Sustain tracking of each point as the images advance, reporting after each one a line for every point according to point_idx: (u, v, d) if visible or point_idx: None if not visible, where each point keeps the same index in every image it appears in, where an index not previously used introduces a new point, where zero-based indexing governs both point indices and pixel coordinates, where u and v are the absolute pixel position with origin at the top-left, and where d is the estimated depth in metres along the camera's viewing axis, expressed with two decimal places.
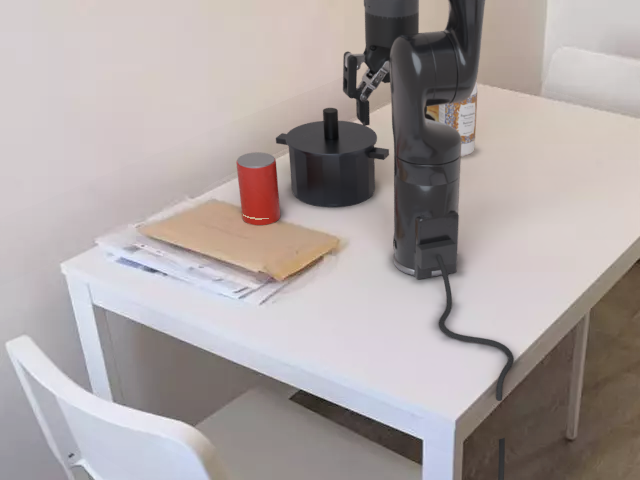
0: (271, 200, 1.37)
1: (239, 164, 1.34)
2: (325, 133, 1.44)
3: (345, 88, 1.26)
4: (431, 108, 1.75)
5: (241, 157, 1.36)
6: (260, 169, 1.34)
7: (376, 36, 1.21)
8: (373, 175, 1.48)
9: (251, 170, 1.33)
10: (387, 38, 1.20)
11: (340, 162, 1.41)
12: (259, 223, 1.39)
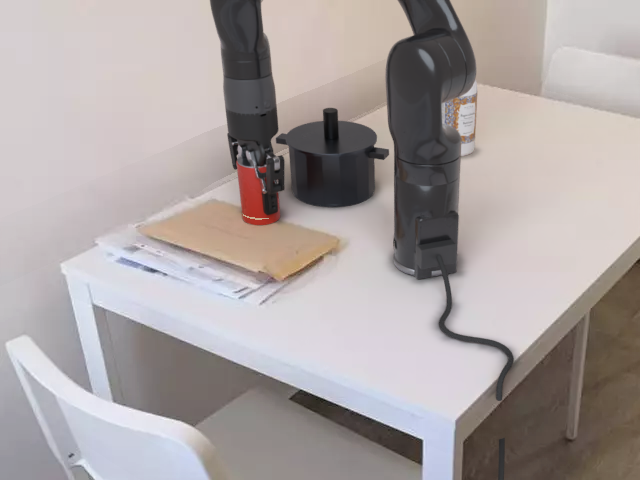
0: None
1: (239, 164, 1.34)
2: (325, 133, 1.44)
3: None
4: None
5: None
6: (260, 169, 1.34)
7: None
8: (373, 175, 1.48)
9: (251, 170, 1.33)
10: None
11: (340, 162, 1.41)
12: (259, 223, 1.39)
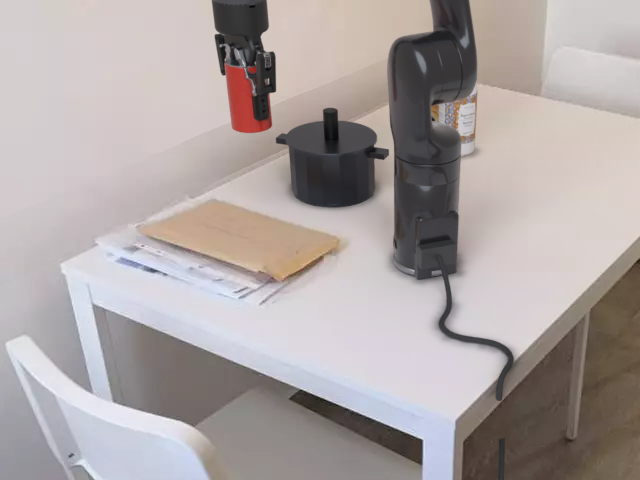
0: None
1: (227, 64, 1.26)
2: (325, 133, 1.44)
3: None
4: (431, 108, 1.75)
5: None
6: (250, 69, 1.25)
7: None
8: (373, 175, 1.48)
9: (240, 70, 1.25)
10: None
11: (340, 162, 1.41)
12: (249, 131, 1.30)
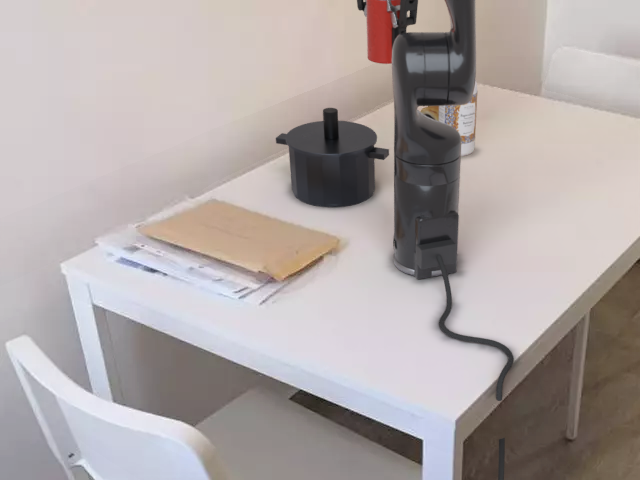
0: None
1: None
2: (325, 133, 1.44)
3: None
4: (431, 108, 1.75)
5: None
6: (392, 1, 1.34)
7: None
8: (373, 175, 1.48)
9: (383, 2, 1.34)
10: None
11: (340, 162, 1.41)
12: (386, 61, 1.39)
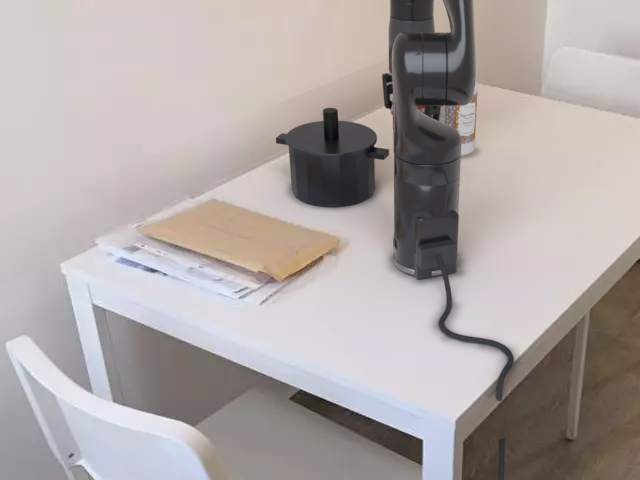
0: None
1: None
2: (325, 133, 1.44)
3: (392, 101, 1.54)
4: None
5: None
6: None
7: None
8: (373, 175, 1.48)
9: None
10: None
11: (340, 162, 1.41)
12: None
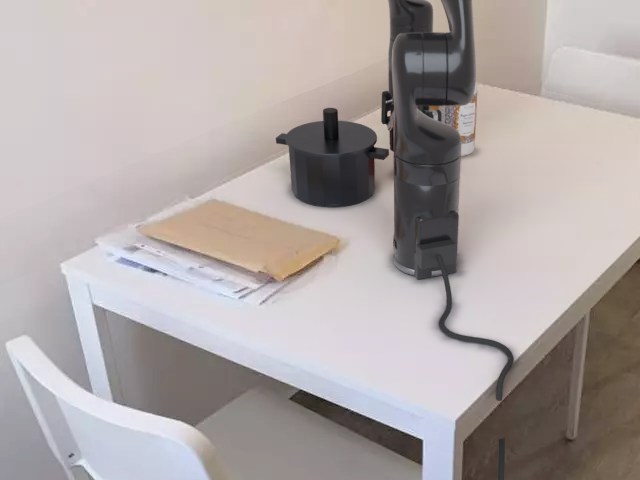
0: None
1: None
2: (325, 133, 1.44)
3: (389, 116, 1.56)
4: (431, 108, 1.75)
5: None
6: None
7: None
8: (373, 175, 1.48)
9: None
10: None
11: (340, 162, 1.41)
12: None
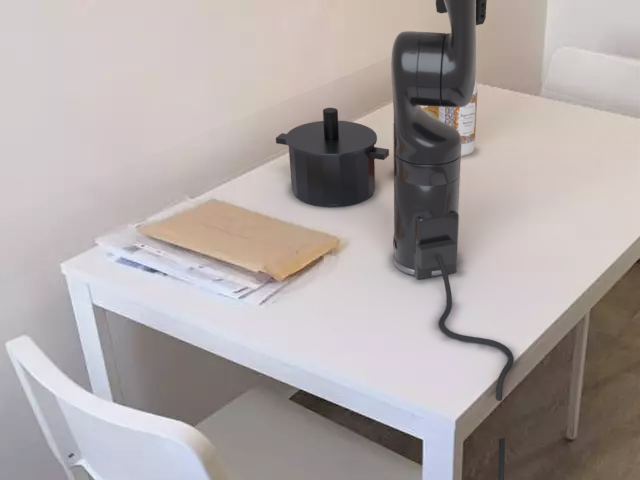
0: None
1: None
2: (325, 133, 1.44)
3: None
4: (431, 108, 1.75)
5: None
6: None
7: None
8: (373, 175, 1.48)
9: None
10: None
11: (340, 162, 1.41)
12: None
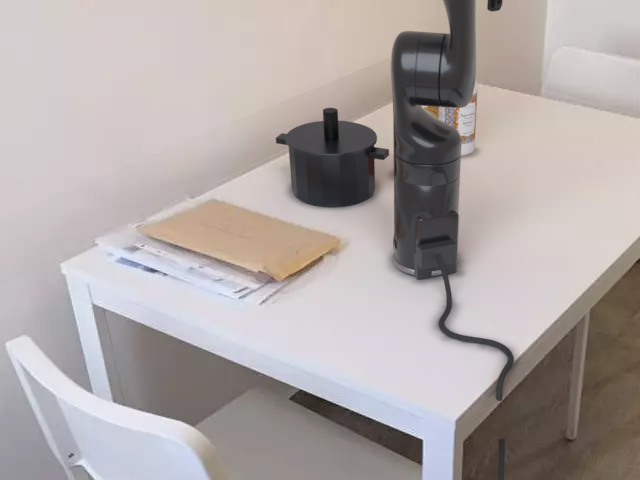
0: None
1: None
2: (325, 133, 1.44)
3: None
4: (431, 108, 1.75)
5: None
6: None
7: None
8: (373, 175, 1.48)
9: None
10: None
11: (340, 162, 1.41)
12: None
